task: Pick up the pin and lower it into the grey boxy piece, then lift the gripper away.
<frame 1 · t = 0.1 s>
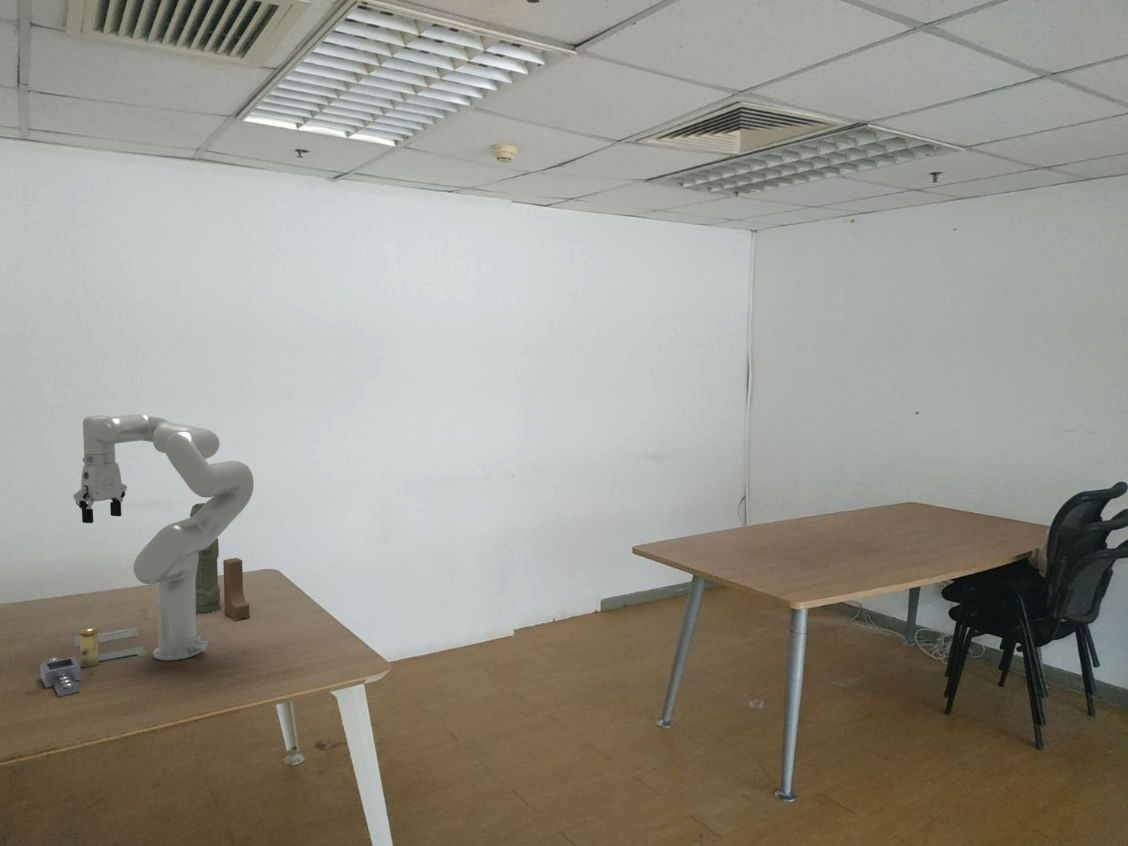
hand: (102, 519, 219), 37 cm above the table, tool pointing down, fingers open, 9 cm apart
pin: (89, 664, 208), on the table
wooden block: (237, 616, 247), on the table
grey boxy piece: (60, 679, 198), on the table
thermos: (205, 610, 254), on the table
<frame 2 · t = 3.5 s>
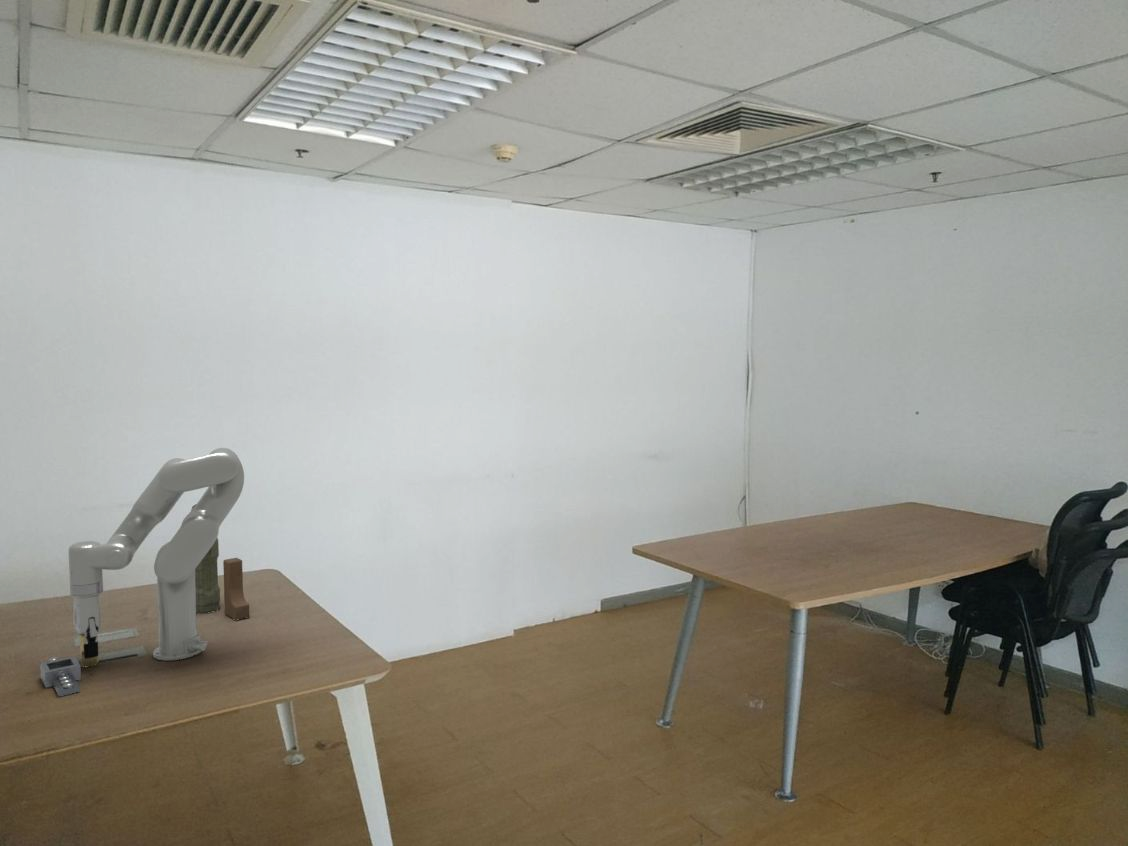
hand: (89, 654, 208), 3 cm above the table, tool pointing down, fingers closed on pin, 4 cm apart
pin: (89, 664, 208), on the table, touching gripper
everything else where it was.
when the fingers open (5 cm above the table, at t = 7.6 s): pin drops 2 cm, resting in grey boxy piece.
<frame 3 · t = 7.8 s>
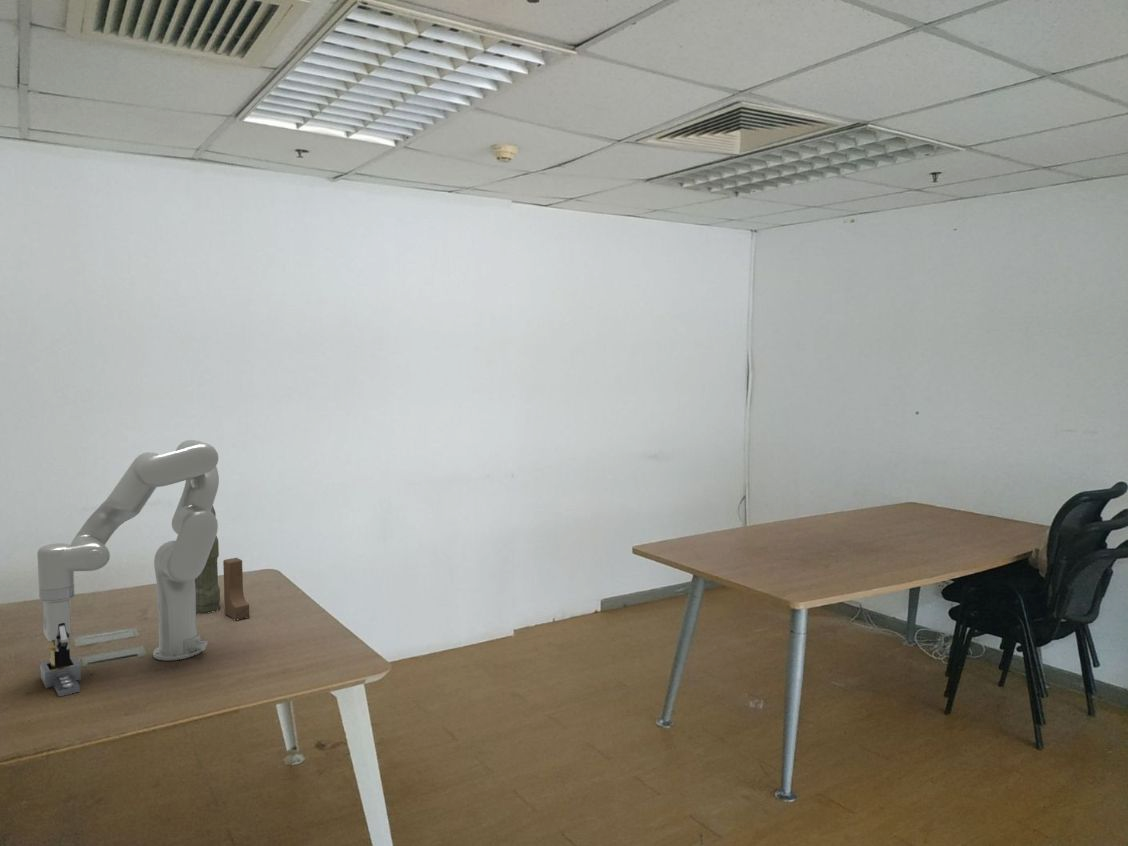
hand: (60, 660, 197), 5 cm above the table, tool pointing down, fingers open, 6 cm apart
pin: (60, 679, 198), resting in grey boxy piece
everything else where it was.
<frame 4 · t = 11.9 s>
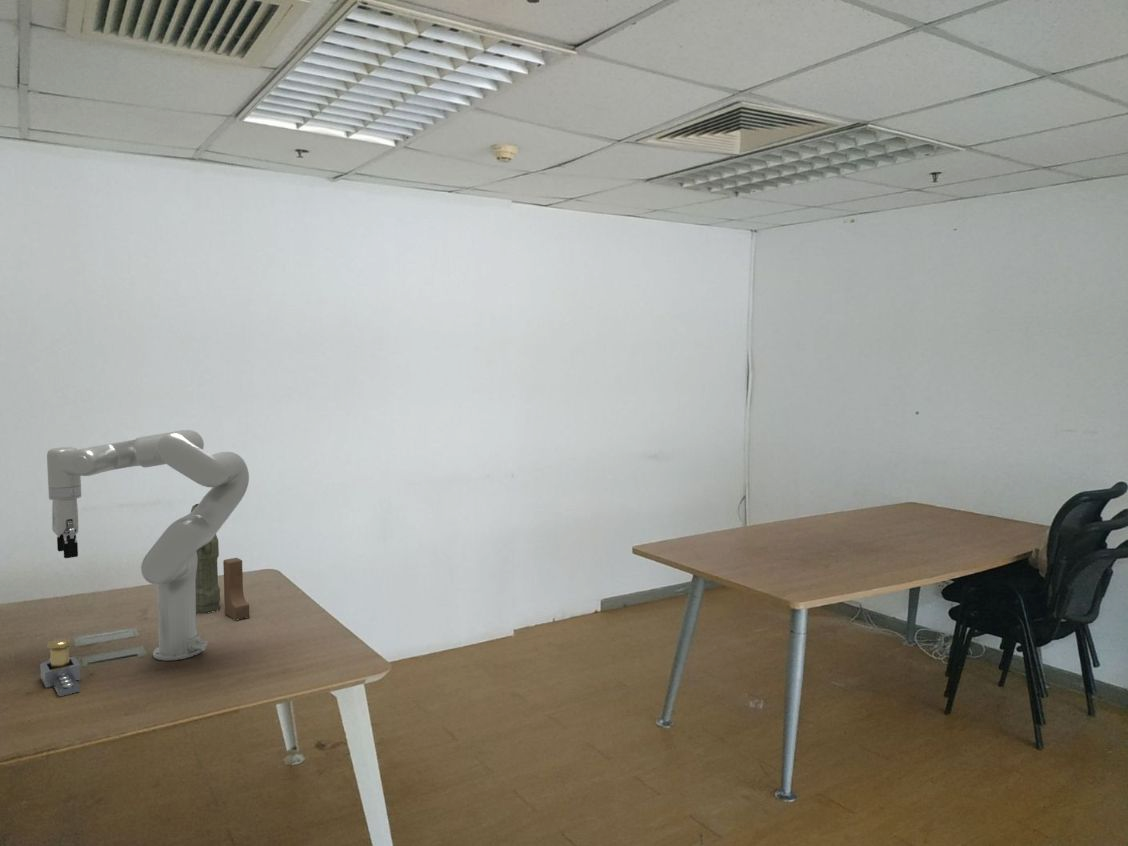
hand: (67, 553, 213), 28 cm above the table, tool pointing down, fingers open, 9 cm apart
nothing on the table moved.
at the end: pin 0.0 cm off-centre on the grey boxy piece, point 0.0 cm above the grey boxy piece's base; pin tilted 0°; the gripper is holding nothing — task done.
